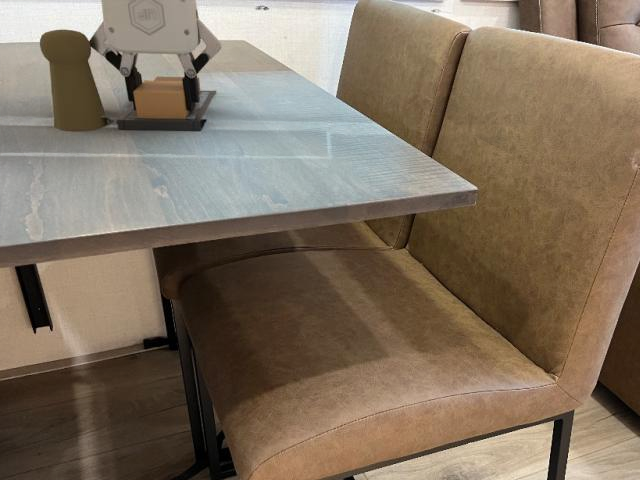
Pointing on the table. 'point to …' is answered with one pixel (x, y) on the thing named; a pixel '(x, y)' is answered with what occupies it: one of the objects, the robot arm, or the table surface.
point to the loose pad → (160, 100)
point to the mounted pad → (174, 80)
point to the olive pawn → (72, 82)
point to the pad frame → (165, 121)
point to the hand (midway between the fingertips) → (165, 106)
